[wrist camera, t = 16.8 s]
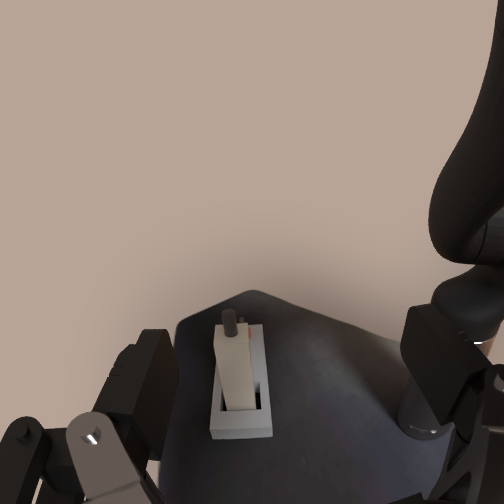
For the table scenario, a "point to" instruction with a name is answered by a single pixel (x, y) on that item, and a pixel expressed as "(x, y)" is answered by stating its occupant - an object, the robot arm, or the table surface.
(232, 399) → the plug
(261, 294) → the table surface
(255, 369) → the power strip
